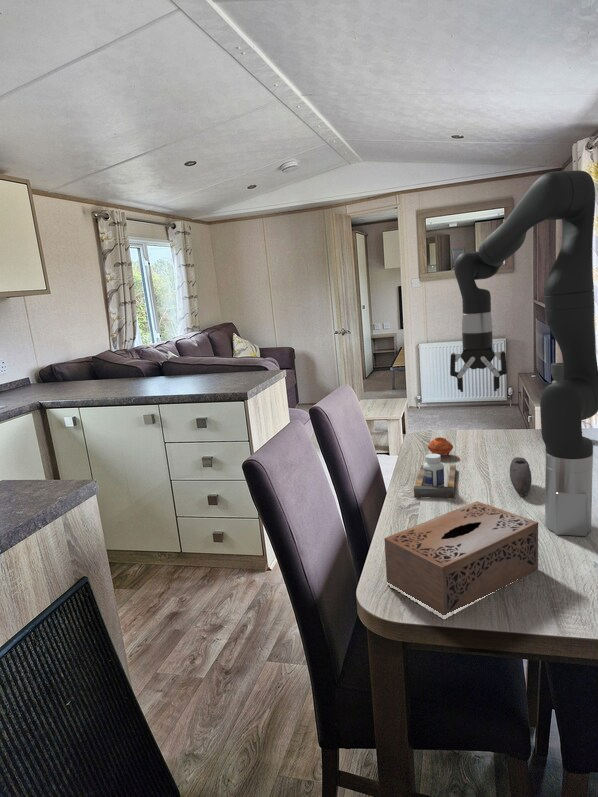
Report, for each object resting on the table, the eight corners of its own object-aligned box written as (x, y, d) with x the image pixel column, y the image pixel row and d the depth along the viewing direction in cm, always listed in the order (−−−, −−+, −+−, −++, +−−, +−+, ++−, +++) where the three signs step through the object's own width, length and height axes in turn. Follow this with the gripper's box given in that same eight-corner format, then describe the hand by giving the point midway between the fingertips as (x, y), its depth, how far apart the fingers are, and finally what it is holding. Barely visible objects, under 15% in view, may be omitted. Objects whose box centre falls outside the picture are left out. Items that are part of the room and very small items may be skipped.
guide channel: (453, 498, 143) (453, 489, 142) (414, 497, 146) (413, 488, 145) (455, 470, 163) (455, 462, 163) (421, 469, 166) (420, 461, 166)
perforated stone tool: (533, 501, 137) (533, 474, 136) (511, 500, 139) (511, 474, 138) (529, 480, 151) (529, 456, 150) (509, 479, 153) (509, 455, 151)
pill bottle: (442, 485, 152) (441, 452, 150) (446, 493, 147) (444, 458, 145) (423, 486, 153) (421, 453, 151) (425, 493, 148) (424, 459, 146)
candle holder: (550, 439, 185) (551, 365, 180) (548, 434, 191) (548, 362, 186) (571, 439, 183) (572, 365, 178) (568, 434, 189) (569, 362, 184)
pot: (421, 457, 177) (423, 436, 177) (436, 456, 182) (437, 436, 182) (442, 460, 171) (444, 439, 171) (457, 460, 176) (458, 439, 176)
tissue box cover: (444, 621, 93) (442, 567, 91) (387, 586, 105) (384, 538, 103) (538, 570, 106) (538, 522, 104) (477, 544, 118) (476, 501, 116)
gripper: (448, 333, 142) (450, 394, 145) (507, 330, 138) (507, 393, 141) (449, 330, 149) (451, 389, 152) (505, 327, 145) (506, 387, 148)
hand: (478, 391), depth 147 cm, fingers open, 8 cm apart
